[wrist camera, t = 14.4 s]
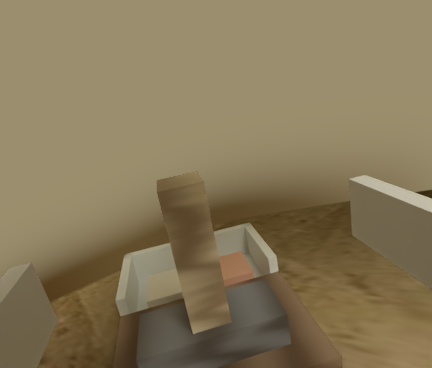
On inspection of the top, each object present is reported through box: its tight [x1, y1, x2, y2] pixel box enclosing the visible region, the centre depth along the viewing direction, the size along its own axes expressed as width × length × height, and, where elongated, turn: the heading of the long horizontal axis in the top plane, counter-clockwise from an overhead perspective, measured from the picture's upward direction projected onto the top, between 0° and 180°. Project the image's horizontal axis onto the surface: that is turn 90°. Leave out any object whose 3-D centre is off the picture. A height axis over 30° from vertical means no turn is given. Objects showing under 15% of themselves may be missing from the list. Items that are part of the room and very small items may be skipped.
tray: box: [115, 223, 278, 316], centre depth 37 cm, size 18×10×5 cm, turn 102°
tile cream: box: [147, 269, 184, 308], centre depth 34 cm, size 5×5×3 cm
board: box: [112, 271, 342, 368], centre depth 27 cm, size 18×12×3 cm, turn 102°
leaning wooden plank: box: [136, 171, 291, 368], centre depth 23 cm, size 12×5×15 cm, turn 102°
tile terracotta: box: [219, 251, 254, 286], centre depth 35 cm, size 5×5×3 cm
